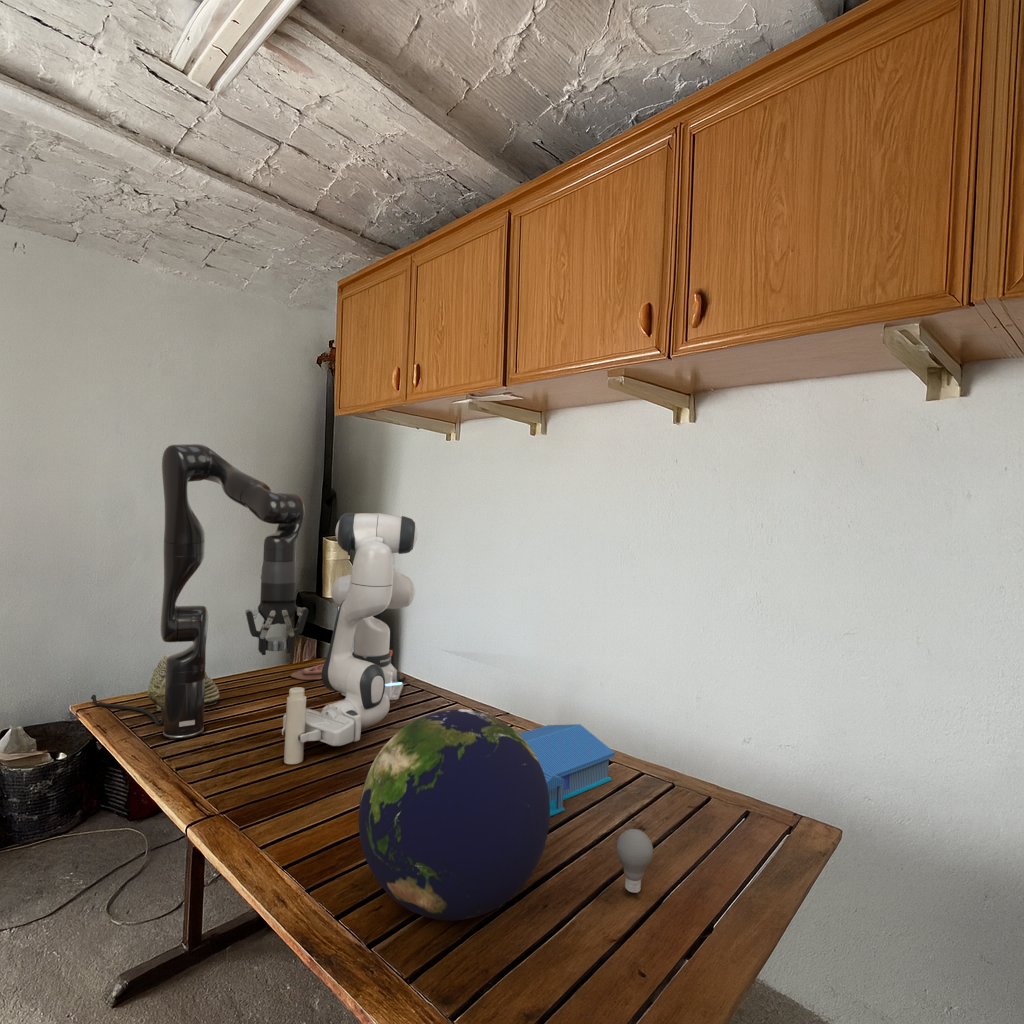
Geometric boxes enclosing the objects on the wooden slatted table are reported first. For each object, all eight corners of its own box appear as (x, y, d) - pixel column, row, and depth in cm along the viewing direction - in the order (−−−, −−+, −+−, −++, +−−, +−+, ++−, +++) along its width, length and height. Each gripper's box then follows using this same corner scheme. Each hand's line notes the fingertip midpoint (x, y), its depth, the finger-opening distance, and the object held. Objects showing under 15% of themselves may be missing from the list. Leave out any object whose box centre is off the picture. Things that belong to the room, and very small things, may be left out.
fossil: (144, 707, 182) (145, 655, 182) (212, 696, 194) (213, 647, 194) (151, 716, 175) (153, 662, 175) (221, 703, 188) (223, 653, 188)
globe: (312, 931, 92) (320, 727, 92) (418, 834, 120) (424, 677, 120) (501, 1001, 81) (511, 769, 81) (569, 876, 109) (577, 703, 108)
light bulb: (610, 879, 108) (613, 822, 108) (644, 879, 109) (647, 822, 109) (619, 902, 102) (622, 840, 102) (655, 901, 103) (658, 840, 103)
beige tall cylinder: (279, 761, 150) (283, 689, 150) (294, 755, 154) (297, 685, 154) (293, 765, 148) (296, 693, 148) (307, 759, 152) (310, 688, 152)
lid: (287, 650, 144) (287, 641, 144) (264, 651, 143) (264, 641, 143) (287, 645, 149) (287, 636, 149) (264, 646, 147) (265, 637, 147)
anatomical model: (285, 666, 217) (303, 658, 228) (285, 677, 217) (303, 669, 228) (321, 670, 214) (337, 661, 225) (321, 681, 214) (337, 673, 225)
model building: (493, 841, 119) (496, 788, 119) (420, 792, 137) (422, 747, 137) (623, 784, 145) (625, 741, 145) (547, 750, 164) (548, 712, 163)
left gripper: (247, 582, 139) (244, 660, 139) (314, 581, 146) (311, 654, 146) (243, 578, 145) (240, 652, 146) (307, 577, 152) (304, 647, 153)
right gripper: (310, 699, 167) (264, 712, 156) (365, 716, 156) (320, 732, 145) (309, 723, 168) (263, 738, 156) (364, 742, 156) (319, 759, 145)
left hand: (275, 653), depth 146 cm, fingers closed on lid, 4 cm apart
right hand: (291, 735), depth 150 cm, fingers closed on beige tall cylinder, 4 cm apart
